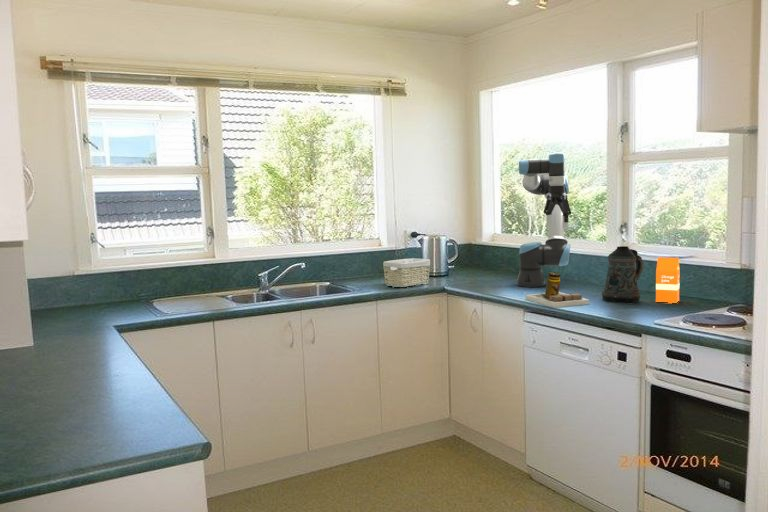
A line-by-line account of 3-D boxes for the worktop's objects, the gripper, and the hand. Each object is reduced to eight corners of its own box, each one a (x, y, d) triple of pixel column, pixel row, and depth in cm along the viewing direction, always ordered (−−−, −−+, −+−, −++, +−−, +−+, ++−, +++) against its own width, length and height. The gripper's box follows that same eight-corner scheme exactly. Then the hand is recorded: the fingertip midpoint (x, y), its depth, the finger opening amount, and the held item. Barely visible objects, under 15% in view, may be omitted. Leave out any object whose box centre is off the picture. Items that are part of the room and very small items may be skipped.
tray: (525, 300, 298) (525, 295, 298) (558, 297, 304) (558, 291, 303) (554, 308, 275) (554, 303, 275) (589, 305, 281) (589, 299, 281)
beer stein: (596, 302, 288) (596, 248, 285) (611, 295, 302) (612, 244, 300) (633, 305, 277) (633, 249, 274) (647, 298, 292) (647, 245, 289)
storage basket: (412, 281, 371) (411, 257, 370) (432, 284, 359) (431, 258, 358) (382, 287, 355) (381, 261, 354) (402, 289, 343) (401, 263, 342)
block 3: (569, 302, 285) (569, 294, 285) (577, 302, 286) (577, 293, 286) (573, 304, 282) (573, 295, 281) (581, 303, 282) (581, 294, 282)
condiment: (558, 301, 290) (561, 276, 287) (539, 298, 292) (543, 273, 289) (558, 296, 297) (562, 272, 294) (540, 293, 299) (543, 269, 296)
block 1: (549, 304, 282) (549, 296, 282) (557, 303, 283) (557, 295, 283) (554, 306, 278) (554, 297, 278) (562, 305, 280) (562, 296, 279)
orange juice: (677, 303, 277) (677, 258, 275) (655, 302, 282) (656, 258, 280) (679, 300, 284) (680, 257, 282) (658, 299, 288) (658, 256, 286)
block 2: (559, 303, 283) (559, 295, 283) (566, 302, 285) (565, 294, 285) (565, 305, 280) (565, 296, 279) (572, 304, 281) (572, 295, 281)
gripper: (536, 185, 316) (536, 227, 319) (565, 184, 293) (565, 230, 295) (549, 185, 319) (549, 227, 321) (578, 184, 295) (578, 229, 297)
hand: (557, 228), depth 308 cm, fingers open, 13 cm apart
